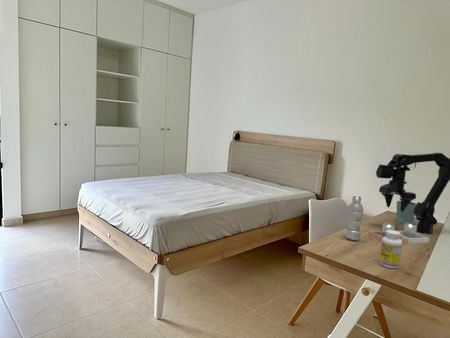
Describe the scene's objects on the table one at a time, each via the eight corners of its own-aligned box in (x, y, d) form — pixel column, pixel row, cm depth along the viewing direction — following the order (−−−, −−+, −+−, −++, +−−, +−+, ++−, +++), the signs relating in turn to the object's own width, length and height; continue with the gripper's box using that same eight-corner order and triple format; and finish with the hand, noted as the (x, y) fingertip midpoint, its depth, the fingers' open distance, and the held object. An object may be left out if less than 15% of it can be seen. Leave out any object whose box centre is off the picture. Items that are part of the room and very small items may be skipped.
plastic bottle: (359, 238, 147) (363, 196, 144) (360, 243, 140) (365, 199, 138) (344, 236, 149) (349, 195, 146) (345, 240, 142) (349, 197, 140)
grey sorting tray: (409, 236, 155) (410, 230, 155) (430, 244, 143) (430, 238, 143) (367, 237, 150) (367, 231, 149) (385, 246, 138) (385, 239, 138)
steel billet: (387, 237, 148) (389, 222, 147) (395, 240, 143) (397, 225, 142) (378, 237, 147) (380, 222, 146) (386, 241, 142) (388, 226, 141)
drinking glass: (413, 226, 174) (416, 205, 173) (393, 222, 180) (395, 202, 178) (414, 222, 183) (417, 202, 181) (395, 219, 188) (397, 199, 187)
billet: (409, 236, 151) (411, 222, 150) (417, 240, 146) (419, 225, 145) (400, 236, 150) (402, 222, 149) (408, 240, 145) (410, 225, 144)
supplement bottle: (375, 261, 119) (379, 228, 118) (392, 261, 120) (395, 229, 119) (386, 269, 113) (390, 234, 111) (403, 269, 113) (407, 235, 112)
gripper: (371, 176, 165) (368, 205, 166) (399, 181, 147) (395, 214, 148) (389, 176, 167) (386, 205, 169) (418, 182, 149) (414, 214, 151)
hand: (394, 209), depth 159 cm, fingers open, 9 cm apart
